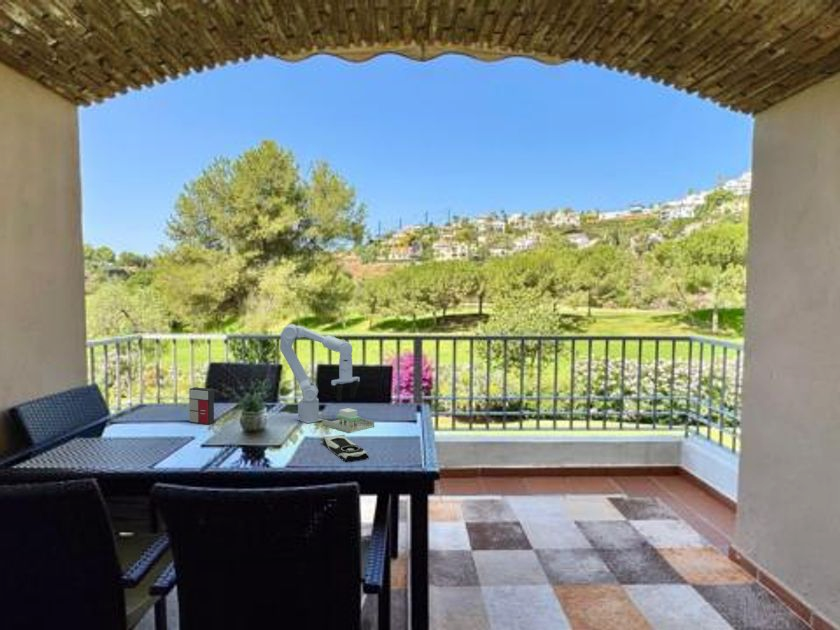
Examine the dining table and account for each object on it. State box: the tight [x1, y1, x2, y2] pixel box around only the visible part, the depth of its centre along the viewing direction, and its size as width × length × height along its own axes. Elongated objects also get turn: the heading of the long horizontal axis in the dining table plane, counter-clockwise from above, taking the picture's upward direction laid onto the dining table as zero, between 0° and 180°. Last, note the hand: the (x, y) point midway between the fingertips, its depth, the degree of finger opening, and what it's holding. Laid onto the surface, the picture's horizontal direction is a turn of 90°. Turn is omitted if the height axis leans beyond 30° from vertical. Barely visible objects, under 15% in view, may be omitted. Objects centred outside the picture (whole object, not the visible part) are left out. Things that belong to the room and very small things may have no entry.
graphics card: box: [320, 434, 369, 463], centre depth 211 cm, size 10×3×25 cm
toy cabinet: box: [188, 386, 216, 425], centre depth 250 cm, size 11×4×15 cm, turn 68°
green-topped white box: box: [335, 407, 361, 421], centre depth 246 cm, size 10×5×4 cm, turn 46°
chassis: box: [321, 417, 375, 434], centre depth 246 cm, size 18×14×3 cm
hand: (345, 399), depth 257 cm, fingers open, 7 cm apart
